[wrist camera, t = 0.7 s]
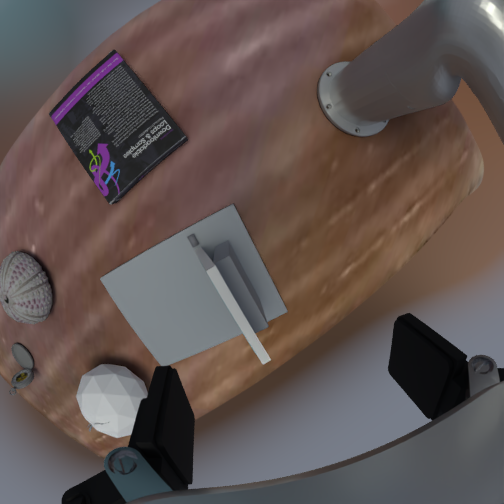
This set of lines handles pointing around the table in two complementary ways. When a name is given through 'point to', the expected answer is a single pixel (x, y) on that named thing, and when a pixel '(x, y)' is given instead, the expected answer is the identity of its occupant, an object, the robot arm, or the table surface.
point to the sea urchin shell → (24, 289)
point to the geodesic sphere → (111, 399)
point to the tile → (232, 305)
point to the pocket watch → (26, 362)
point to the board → (194, 288)
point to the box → (115, 127)
